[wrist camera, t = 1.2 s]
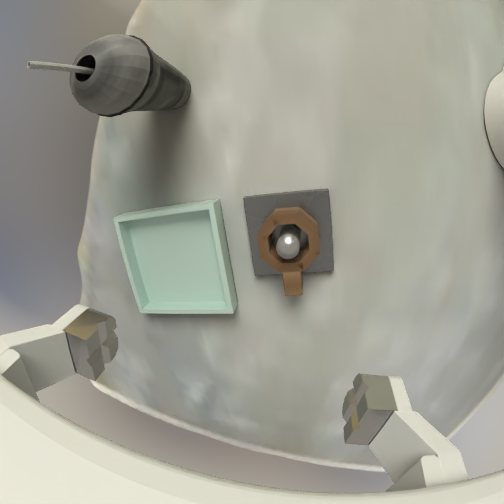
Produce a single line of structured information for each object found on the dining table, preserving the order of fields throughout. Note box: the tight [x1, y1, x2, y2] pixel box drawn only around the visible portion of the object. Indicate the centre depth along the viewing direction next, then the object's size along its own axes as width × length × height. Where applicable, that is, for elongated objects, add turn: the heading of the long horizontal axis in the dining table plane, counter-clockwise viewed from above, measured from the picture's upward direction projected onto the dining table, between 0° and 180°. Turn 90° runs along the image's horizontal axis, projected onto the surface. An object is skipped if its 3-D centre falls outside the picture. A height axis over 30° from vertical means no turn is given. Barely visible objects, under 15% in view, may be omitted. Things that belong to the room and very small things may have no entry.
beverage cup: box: [27, 35, 191, 117], centre depth 20 cm, size 7×7×20 cm
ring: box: [257, 207, 320, 296], centre depth 31 cm, size 9×6×3 cm
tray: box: [113, 199, 238, 314], centre depth 36 cm, size 13×13×2 cm
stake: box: [243, 189, 334, 276], centre depth 31 cm, size 9×9×5 cm
